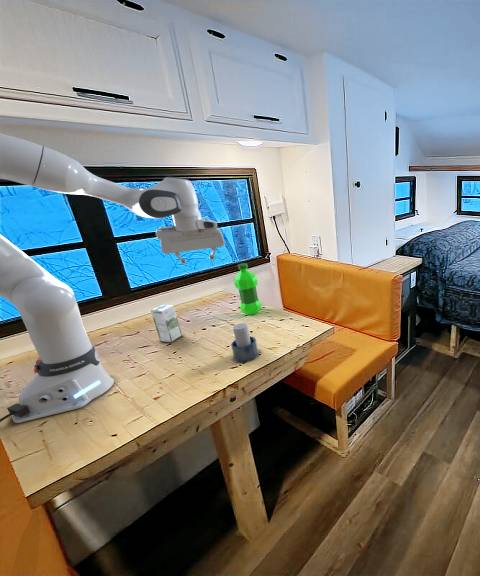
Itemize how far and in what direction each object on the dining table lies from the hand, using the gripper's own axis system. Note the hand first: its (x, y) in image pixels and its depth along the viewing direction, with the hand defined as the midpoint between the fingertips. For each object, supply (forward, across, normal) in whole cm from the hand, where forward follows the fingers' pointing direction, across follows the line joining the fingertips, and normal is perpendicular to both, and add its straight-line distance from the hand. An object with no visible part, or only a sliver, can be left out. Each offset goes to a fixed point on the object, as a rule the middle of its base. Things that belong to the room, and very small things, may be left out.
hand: (198, 261), depth 115 cm
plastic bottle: (+34, +18, +20) cm, 44 cm away
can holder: (+34, +7, -20) cm, 40 cm away
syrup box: (+34, -16, +14) cm, 40 cm away
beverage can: (+34, +7, -20) cm, 40 cm away
